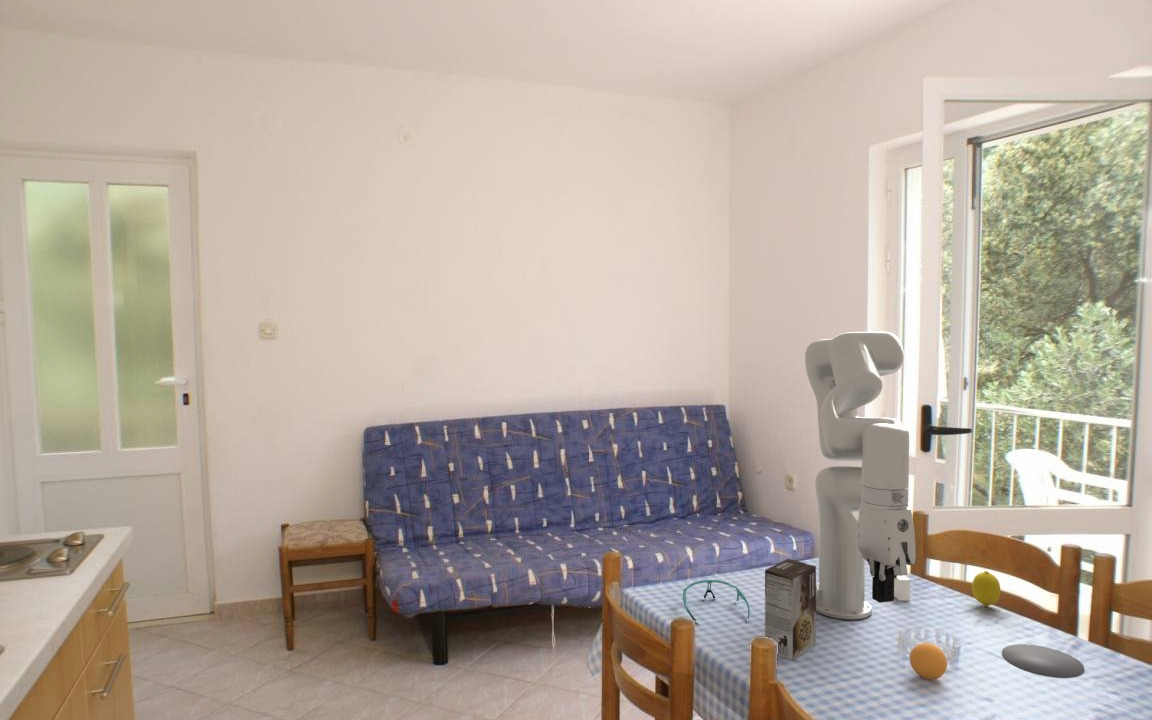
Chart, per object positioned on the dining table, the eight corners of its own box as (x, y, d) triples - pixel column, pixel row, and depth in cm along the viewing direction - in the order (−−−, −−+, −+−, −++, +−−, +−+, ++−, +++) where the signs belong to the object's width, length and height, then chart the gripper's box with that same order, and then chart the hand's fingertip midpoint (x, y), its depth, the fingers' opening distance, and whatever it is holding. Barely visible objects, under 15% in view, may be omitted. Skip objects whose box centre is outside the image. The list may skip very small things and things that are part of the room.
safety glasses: (738, 599, 171) (739, 578, 170) (756, 632, 156) (756, 610, 156) (678, 600, 171) (678, 579, 170) (689, 633, 156) (690, 611, 155)
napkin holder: (915, 608, 165) (915, 583, 165) (863, 597, 172) (863, 572, 172) (932, 589, 177) (932, 565, 177) (882, 579, 184) (882, 556, 184)
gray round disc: (1008, 670, 135) (1009, 669, 135) (996, 641, 147) (996, 640, 147) (1093, 682, 130) (1093, 681, 130) (1073, 651, 142) (1073, 650, 142)
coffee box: (787, 636, 150) (787, 557, 149) (817, 646, 145) (817, 565, 145) (763, 650, 144) (763, 568, 143) (793, 661, 139) (793, 576, 138)
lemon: (1003, 612, 161) (1004, 576, 161) (976, 610, 162) (977, 574, 162) (995, 603, 167) (995, 567, 166) (968, 601, 168) (968, 566, 167)
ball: (910, 682, 131) (911, 649, 130) (908, 667, 136) (908, 635, 136) (948, 688, 129) (949, 654, 128) (944, 672, 134) (945, 640, 134)
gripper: (934, 504, 122) (932, 614, 123) (875, 485, 136) (874, 583, 137) (894, 508, 120) (892, 619, 121) (839, 488, 135) (838, 587, 135)
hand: (883, 600), depth 129 cm, fingers closed
